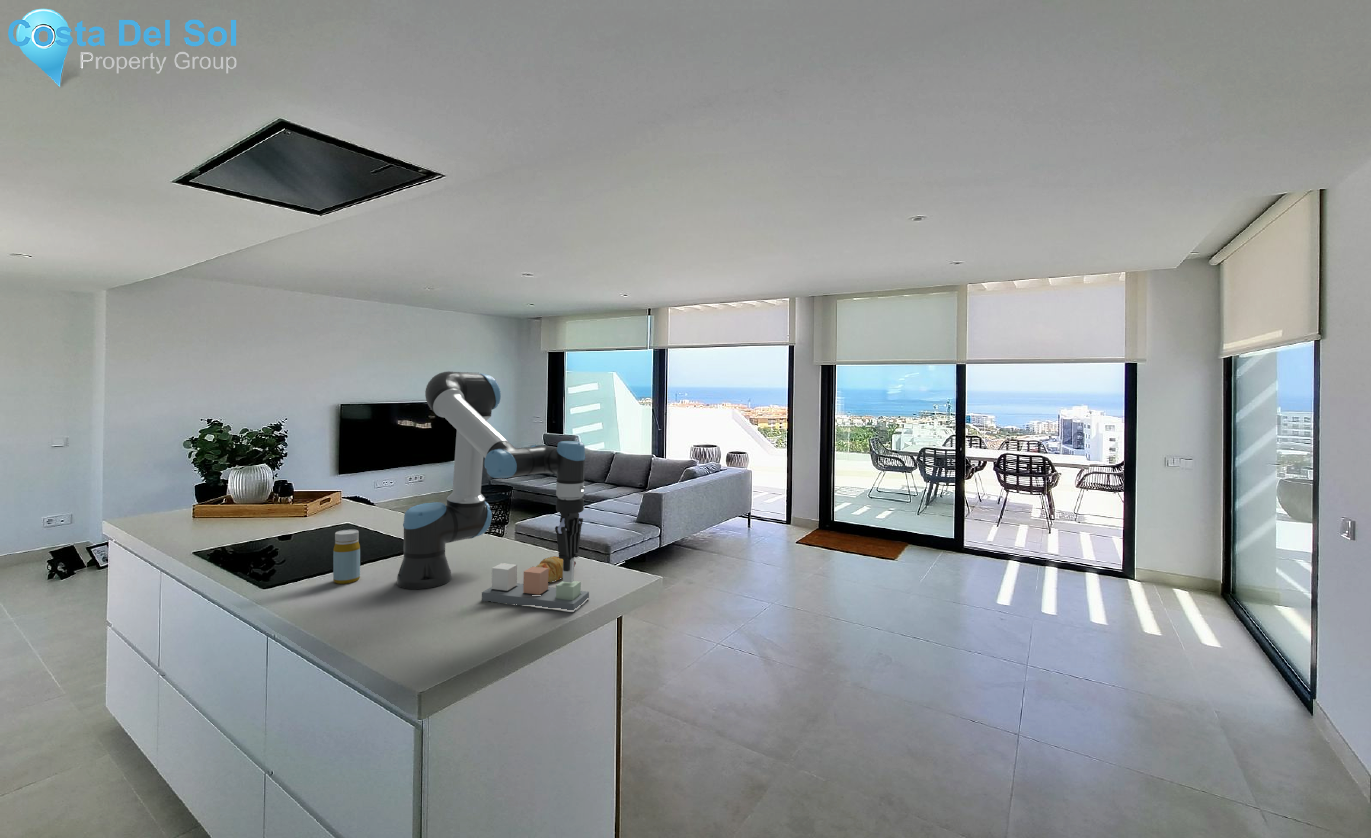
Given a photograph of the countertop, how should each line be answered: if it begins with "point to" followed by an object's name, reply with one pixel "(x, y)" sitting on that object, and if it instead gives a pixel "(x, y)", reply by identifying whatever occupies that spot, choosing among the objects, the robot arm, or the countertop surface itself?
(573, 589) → the key sage
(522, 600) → the grey slotted tray
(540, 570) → the key terracotta
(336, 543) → the bottle
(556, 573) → the croissant
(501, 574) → the key white
